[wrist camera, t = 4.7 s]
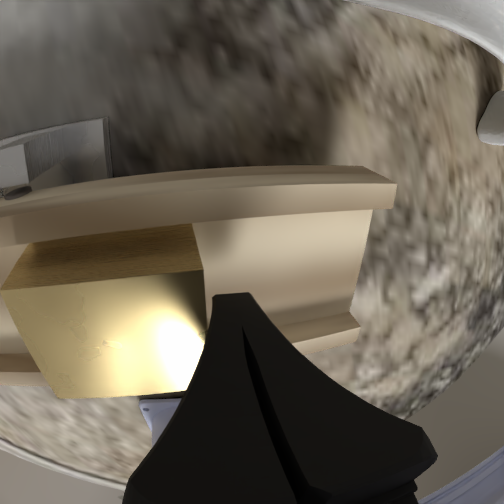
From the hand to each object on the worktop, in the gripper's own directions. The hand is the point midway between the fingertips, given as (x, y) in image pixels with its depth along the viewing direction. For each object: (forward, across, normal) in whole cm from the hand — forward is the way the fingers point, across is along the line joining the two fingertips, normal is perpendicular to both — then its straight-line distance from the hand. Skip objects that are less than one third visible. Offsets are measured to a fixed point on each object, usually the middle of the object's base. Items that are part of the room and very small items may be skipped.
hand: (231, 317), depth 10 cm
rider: (+2, +4, 0) cm, 4 cm away
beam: (+3, +8, 0) cm, 8 cm away
